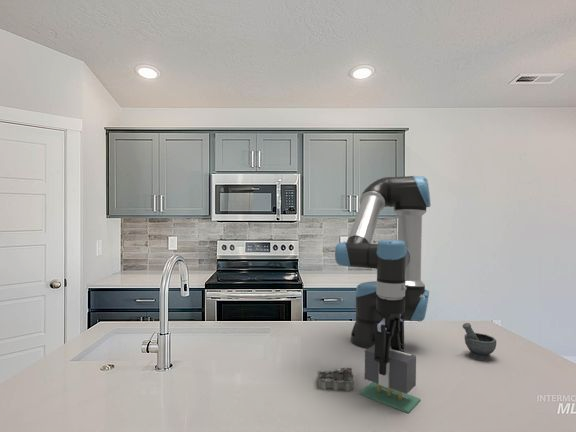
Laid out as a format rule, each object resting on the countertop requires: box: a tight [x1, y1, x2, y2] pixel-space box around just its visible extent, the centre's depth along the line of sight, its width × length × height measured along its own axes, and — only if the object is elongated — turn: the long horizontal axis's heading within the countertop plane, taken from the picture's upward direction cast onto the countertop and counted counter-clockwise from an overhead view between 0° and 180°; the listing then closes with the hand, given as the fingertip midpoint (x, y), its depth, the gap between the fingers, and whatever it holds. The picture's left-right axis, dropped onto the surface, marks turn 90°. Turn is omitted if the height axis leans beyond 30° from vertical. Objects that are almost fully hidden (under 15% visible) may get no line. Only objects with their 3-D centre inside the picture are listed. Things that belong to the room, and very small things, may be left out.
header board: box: [359, 381, 421, 414], centre depth 96 cm, size 14×8×6 cm, turn 48°
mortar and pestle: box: [462, 322, 497, 361], centre depth 124 cm, size 11×9×12 cm
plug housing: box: [364, 345, 417, 394], centre depth 95 cm, size 12×6×8 cm, turn 48°
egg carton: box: [316, 367, 355, 392], centre depth 103 cm, size 11×8×4 cm
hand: (389, 381), depth 96 cm, fingers closed on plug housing, 6 cm apart
